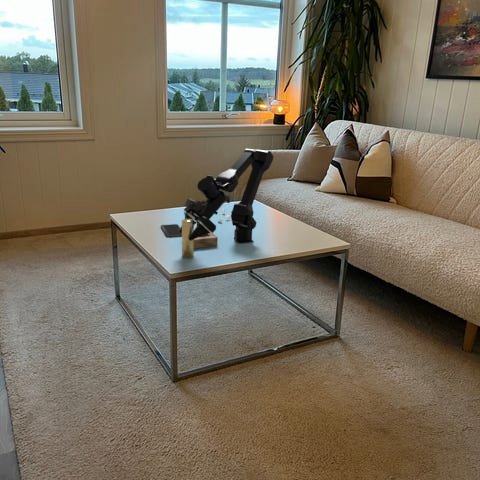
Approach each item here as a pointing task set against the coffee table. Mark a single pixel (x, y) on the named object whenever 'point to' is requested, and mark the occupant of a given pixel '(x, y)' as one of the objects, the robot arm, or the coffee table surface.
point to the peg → (186, 243)
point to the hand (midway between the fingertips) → (184, 235)
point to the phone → (171, 230)
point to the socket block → (205, 240)
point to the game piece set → (226, 216)
